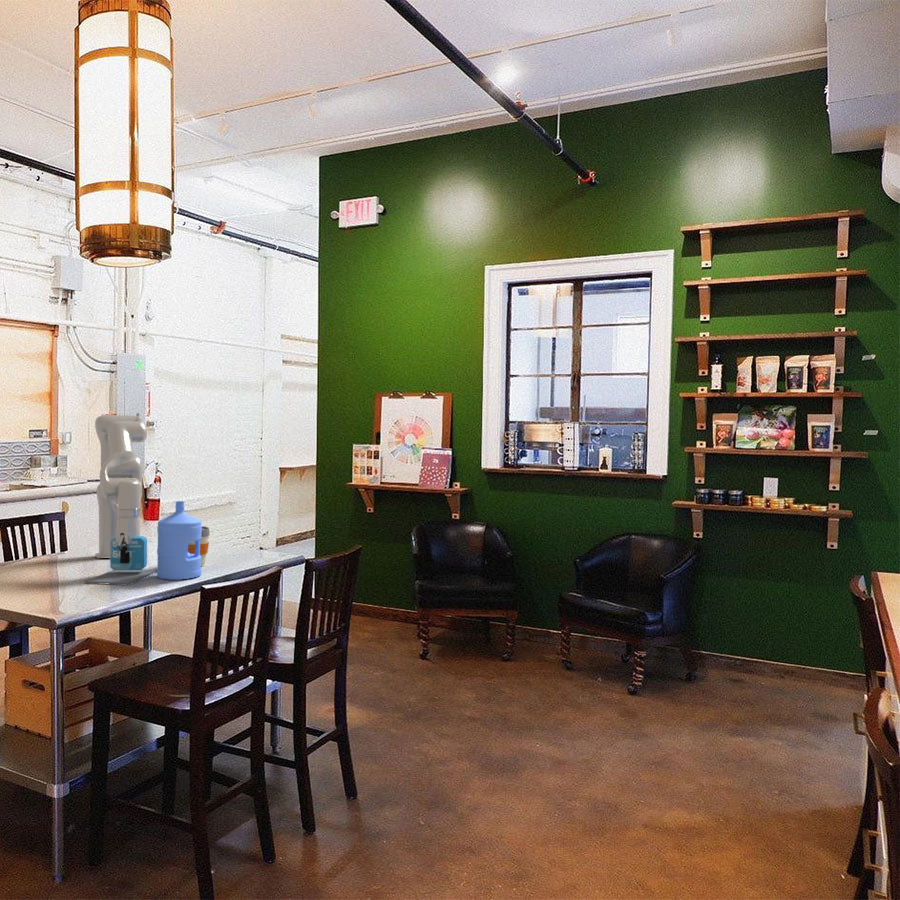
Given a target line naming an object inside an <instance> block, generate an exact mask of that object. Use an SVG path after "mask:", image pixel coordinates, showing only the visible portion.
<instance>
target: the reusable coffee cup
mask: <svg viewBox="0 0 900 900" xmlns="http://www.w3.org/2000/svg"><path fill="white" fill-rule="evenodd" d="M209 538H210V527H207V526H203V525H202V532H201V539H200V556H201V566H203V567H204V565H206V558H207V554H208V552H209V551H208V550H209V544H210V541H209ZM188 553H190V554H195V541H188Z"/></svg>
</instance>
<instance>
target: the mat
mask: <svg viewBox="0 0 900 900" xmlns="http://www.w3.org/2000/svg"><path fill="white" fill-rule="evenodd" d="M157 570H158V569H157ZM157 570H154V569H142V570H113V569H111V570H110V571H107V572H104V573H102V574H99V575H97V576H94V577H92V578H90V579H88V580H85V581H84V584H86V583H109V584H108V585H112V584H130V585H132V584H131V583H133V582H135V581H137V582H139V581H141V580H143V579H142V578H144V577H146V578H148V577H150V576H152V575H154V574H153V573H155V572H157ZM151 574H152V575H151ZM155 574H156V573H155ZM149 575H150V576H149ZM147 576H148V577H147ZM140 579H141V580H140ZM144 579H145V578H144ZM138 580H139V581H138ZM135 583H136V582H135ZM133 584H134V583H133Z"/></svg>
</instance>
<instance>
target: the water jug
mask: <svg viewBox="0 0 900 900" xmlns="http://www.w3.org/2000/svg"><path fill="white" fill-rule="evenodd" d="M174 508H175V512H174V513H172V514H170V515H168V516H165V517H164V518H162V519H159V521H157V549H156V553H157V554H156V555H157V573H156V575H157V577H158V578H159V579H161V580H164V579H169V580H168V581H183V580H182V579H187V580H190V579H189V578H193V579H195V578H194V577H196V578H199V577H200V576H201V575H202V567H201V556H200V539H201V532H202V526H203V525H202V520H201V519H200V518H198V517H196V516H192V515H190V513H189V514H188V513H186V512H185V501H183V500H181V501H180V500H177V501H175V507H174ZM188 541H195V554H190V553H188ZM198 576H199V577H198Z"/></svg>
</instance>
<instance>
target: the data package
mask: <svg viewBox="0 0 900 900" xmlns="http://www.w3.org/2000/svg"><path fill="white" fill-rule="evenodd" d="M123 544H126V543H123ZM117 545H118V544H116V537H115V538H113V539H112V540H111V541H110V559H109V561H110V562H109V567H110V568H111V570H144V568H146V567H147V565H148V539H147V537H146V536H143V535H140V536H137V537H134V538H132V544H130V545H129V551H128V553H129V563H128V564H126V563H120V549H119V547H118V546H117ZM125 548H126V546H125Z"/></svg>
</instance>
